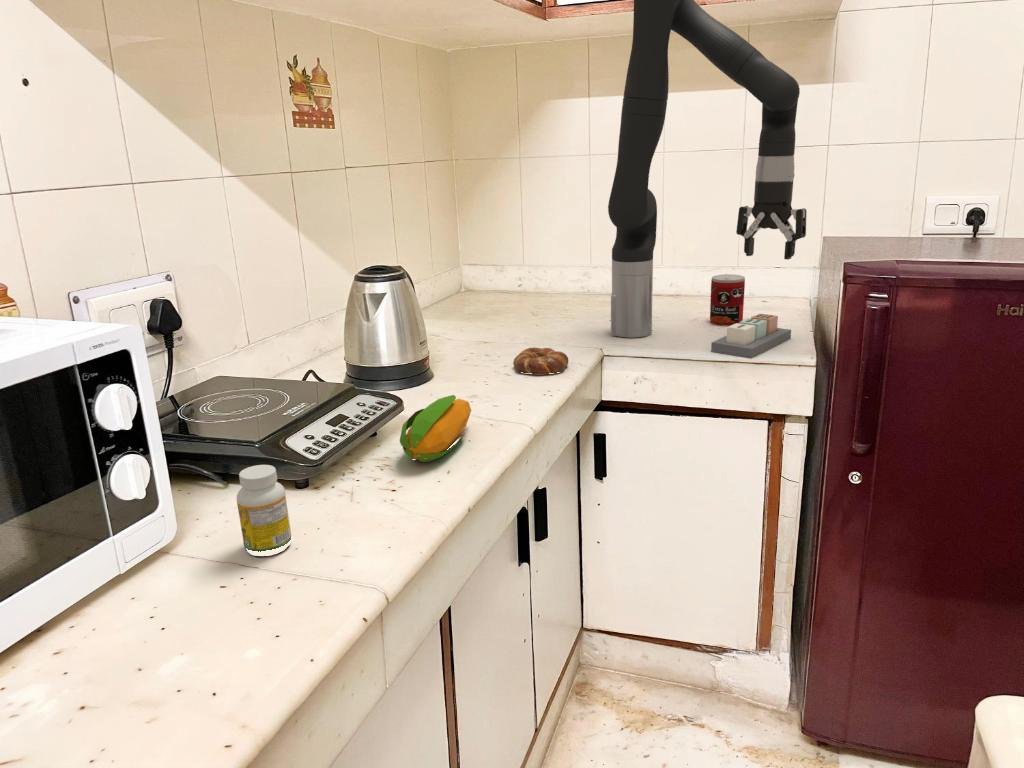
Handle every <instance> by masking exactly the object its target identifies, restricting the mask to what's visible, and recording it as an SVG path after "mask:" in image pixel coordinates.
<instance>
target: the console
mask: <svg viewBox="0 0 1024 768" xmlns="http://www.w3.org/2000/svg"><path fill="white" fill-rule="evenodd" d="M791 337H792V329H789V328H780V327H777V331H776V332H774V333H771V334H766V336H765V337H763V338H761V339H759V340H754V342H752V343H750V344H748V345H739V344H733V343H726V340H727V335H725V336H723V337H720V338H719V339H716V340H714V341H711V345H710V346H711V348H710V349H711V350H710V351H711V352H712V353H719V354H722V355H723V354H724V355H729V356H736V357H742V358H746V359H747V358H748V359H753V358H755V357H757V356H759V355H761V354H763V353H765V352H767V351H768V350H771V349H773V348H775V347H777V346H779V345H781V344H782V343H784V342H786V341H789V340H791V339H792V338H791Z"/></svg>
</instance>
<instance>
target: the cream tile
mask: <svg viewBox="0 0 1024 768" xmlns="http://www.w3.org/2000/svg"><path fill="white" fill-rule="evenodd" d="M726 336H727V340H726V343H733V344H739V345H748V344H750V343H752V342H754V340H755V326H753V325H746V324H739V323H736V324H734V325H731V326H726Z"/></svg>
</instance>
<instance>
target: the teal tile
mask: <svg viewBox="0 0 1024 768" xmlns="http://www.w3.org/2000/svg"><path fill="white" fill-rule="evenodd" d="M739 324H746V325H753V326H755V340H759V339H761V338H763V337H765V336H766V327H767V321H766V320H758V319H751V317H750V318H749V317H748V318H746V319H745V318H744V319H743V320H742V321H741V322H739Z"/></svg>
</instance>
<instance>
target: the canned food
mask: <svg viewBox="0 0 1024 768" xmlns="http://www.w3.org/2000/svg"><path fill="white" fill-rule="evenodd" d="M745 278H746V277H745V276H743V275H740V274H731V273H730V274H726V273H725V274H716V275H713V276H711V280H710V281H711V282H710V300H709V301H710V305H709V306H710V307H709V322H710V323H711V324H712V323H713V325H715V324H716V325H715V326H721V325H734V324H736V323H739V322H741V321H743V320H744V319H743V318H744V307H745V306H744V304H745V287H746V279H745Z"/></svg>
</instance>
